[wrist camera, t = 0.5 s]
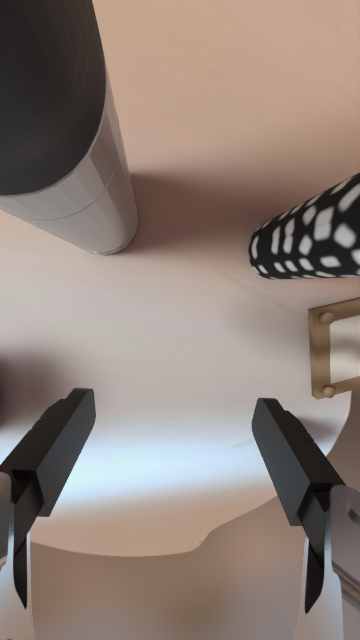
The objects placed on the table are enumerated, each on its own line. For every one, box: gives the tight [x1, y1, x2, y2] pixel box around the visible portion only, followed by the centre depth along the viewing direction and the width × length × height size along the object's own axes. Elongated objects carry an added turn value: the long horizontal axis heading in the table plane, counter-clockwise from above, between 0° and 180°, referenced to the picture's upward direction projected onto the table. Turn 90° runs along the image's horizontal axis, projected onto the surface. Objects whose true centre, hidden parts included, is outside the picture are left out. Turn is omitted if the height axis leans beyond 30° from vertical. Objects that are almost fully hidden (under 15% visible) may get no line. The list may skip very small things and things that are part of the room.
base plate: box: [309, 297, 360, 399], centre depth 32 cm, size 16×16×2 cm
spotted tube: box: [249, 173, 360, 279], centre depth 18 cm, size 8×8×20 cm
